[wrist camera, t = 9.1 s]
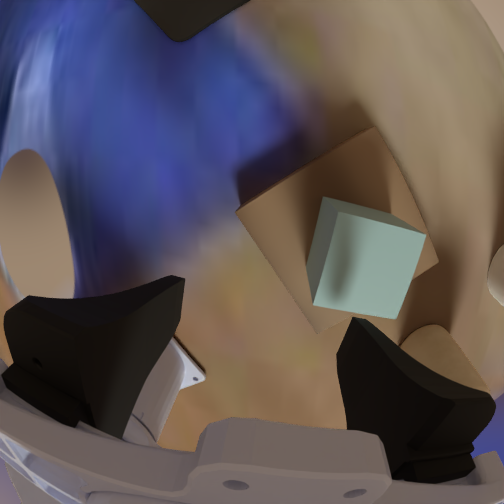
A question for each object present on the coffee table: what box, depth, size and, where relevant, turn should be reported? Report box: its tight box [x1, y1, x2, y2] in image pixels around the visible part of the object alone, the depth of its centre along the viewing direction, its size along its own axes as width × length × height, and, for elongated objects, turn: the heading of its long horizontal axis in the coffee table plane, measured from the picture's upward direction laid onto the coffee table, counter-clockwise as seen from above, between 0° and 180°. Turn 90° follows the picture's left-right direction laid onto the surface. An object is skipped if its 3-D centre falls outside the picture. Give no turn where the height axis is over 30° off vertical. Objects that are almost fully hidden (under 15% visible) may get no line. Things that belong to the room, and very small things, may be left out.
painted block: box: [306, 197, 426, 319], centre depth 15 cm, size 4×4×5 cm
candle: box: [400, 325, 490, 394], centre depth 17 cm, size 6×6×10 cm
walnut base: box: [235, 126, 439, 334], centre depth 19 cm, size 10×10×3 cm
